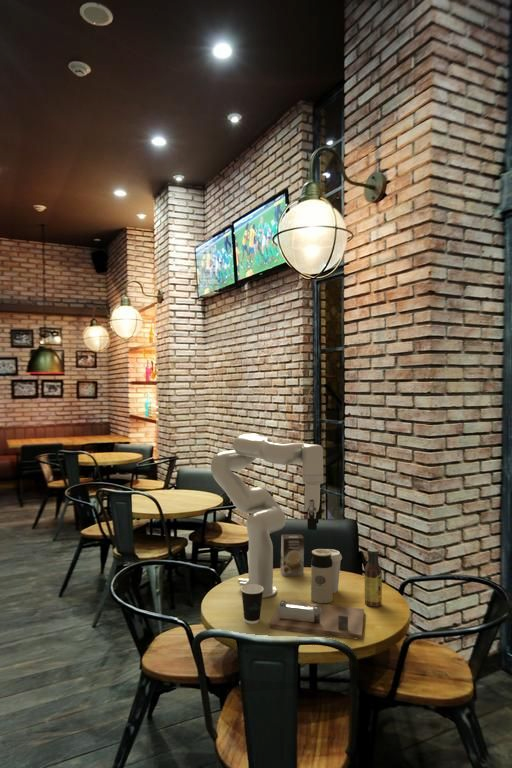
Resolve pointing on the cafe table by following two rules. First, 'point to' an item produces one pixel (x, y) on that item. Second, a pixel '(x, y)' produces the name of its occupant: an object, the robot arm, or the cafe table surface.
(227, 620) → the cafe table surface
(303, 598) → the cafe table surface
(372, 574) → the sauce bottle
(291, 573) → the coffee box
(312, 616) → the bar
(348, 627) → the jamb plate
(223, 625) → the cafe table surface
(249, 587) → the dixie cup
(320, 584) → the travel mug
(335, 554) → the coffee cup
